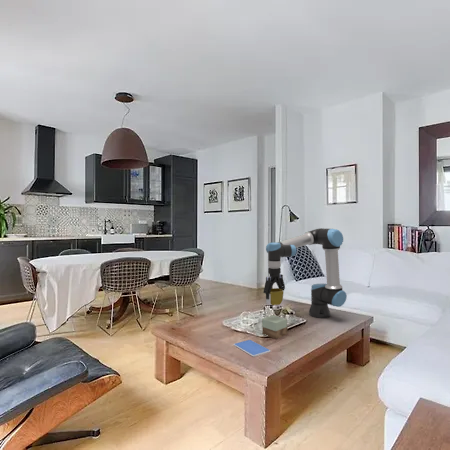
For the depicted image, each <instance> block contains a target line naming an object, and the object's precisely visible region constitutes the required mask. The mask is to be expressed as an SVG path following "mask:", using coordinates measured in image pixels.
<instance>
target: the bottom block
mask: <svg viewBox="0 0 450 450" xmlns="http://www.w3.org/2000/svg"><path fill="white" fill-rule="evenodd" d="M263 334H266V335H268V336H267V337H269V338H272V339H275V340H278V339H280V338H283V337H284V336H287V335H288V326H287V327H286V328H283V329H281V330H278V331H273V330H270V329H267V328H264V327H262V335H263ZM266 335H265V336H266Z"/></svg>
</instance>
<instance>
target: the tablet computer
mask: <svg viewBox="0 0 450 450" xmlns="http://www.w3.org/2000/svg"><path fill="white" fill-rule="evenodd" d="M233 346H234V347H236V348H238V349H239V350H240V351H243V352H244V353H246V354H248V355H249V356H251V357H253V358H255V357H258V356H261V355H265V354H268V353H271V349H268V348H266V347H265V346H263V345H261V344H259V343H258V342H255V341H253V340H252V339H248V340H244V341H243V340H242V341H239V342H235V343H233Z"/></svg>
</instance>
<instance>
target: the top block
mask: <svg viewBox="0 0 450 450" xmlns="http://www.w3.org/2000/svg"><path fill="white" fill-rule="evenodd" d="M263 327H264V328H267V329H270V330H273V331H278V330H281V329H283V328H286V327H287V328H288V319H287V318H284V317H281V316H278V315H275V314H273V315H269V316H266V317H263V318H262V319H261V328H263Z"/></svg>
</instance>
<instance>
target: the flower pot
mask: <svg viewBox="0 0 450 450" xmlns="http://www.w3.org/2000/svg"><path fill="white" fill-rule="evenodd" d="M284 291H285V290H284ZM284 291H283V290H281V289H279V288H278V287H274V288H273V287H272V288H271V291H270V294H271V305H270V306H278V305H279V306H280V305H281V304H282V302H283V301H282V300H283V299H284Z"/></svg>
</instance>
